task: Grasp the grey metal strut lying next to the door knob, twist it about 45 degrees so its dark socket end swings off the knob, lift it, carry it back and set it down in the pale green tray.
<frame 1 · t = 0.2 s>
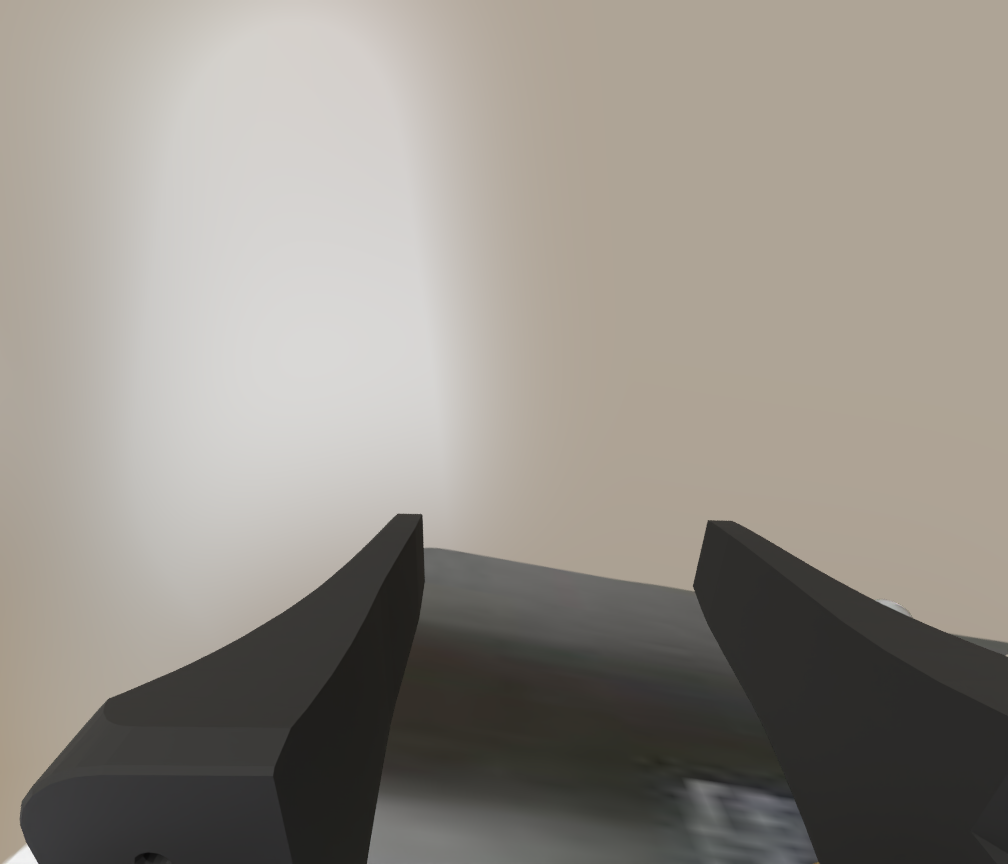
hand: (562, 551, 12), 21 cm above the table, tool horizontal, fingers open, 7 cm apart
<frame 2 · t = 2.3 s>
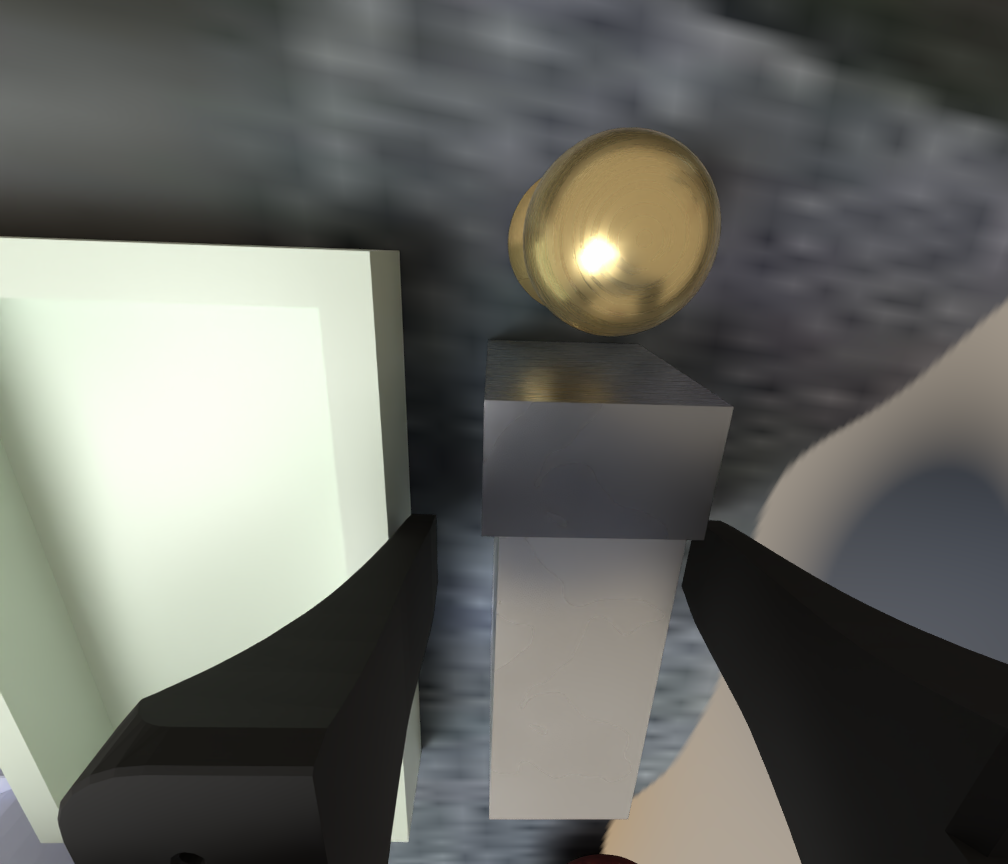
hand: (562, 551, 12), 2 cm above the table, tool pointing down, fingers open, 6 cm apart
apple: (590, 863, 20), on the table
door knob: (572, 243, 11), on the table
strut: (550, 514, 14), on the table
tray: (224, 553, 14), on the table
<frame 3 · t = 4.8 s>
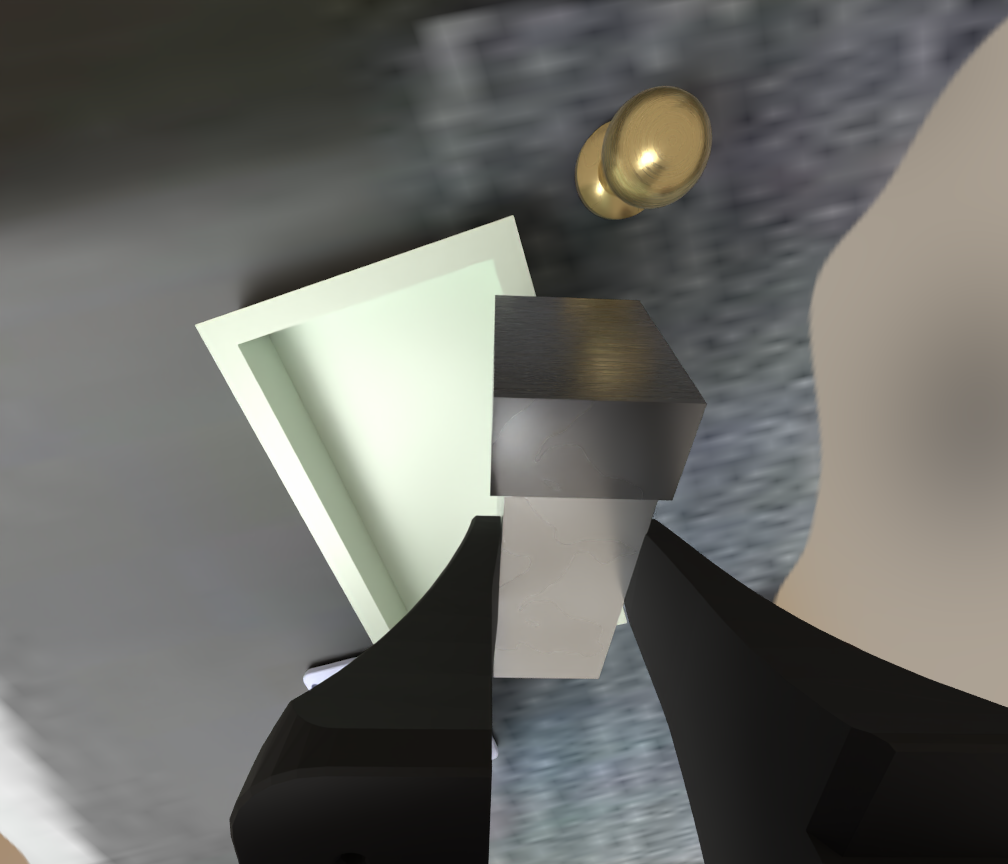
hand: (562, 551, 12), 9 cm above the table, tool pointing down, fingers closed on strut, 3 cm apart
door knob: (617, 172, 16), on the table
strut: (548, 446, 15), point 5 cm above the table, tilted 14°, touching gripper
tray: (448, 462, 21), on the table
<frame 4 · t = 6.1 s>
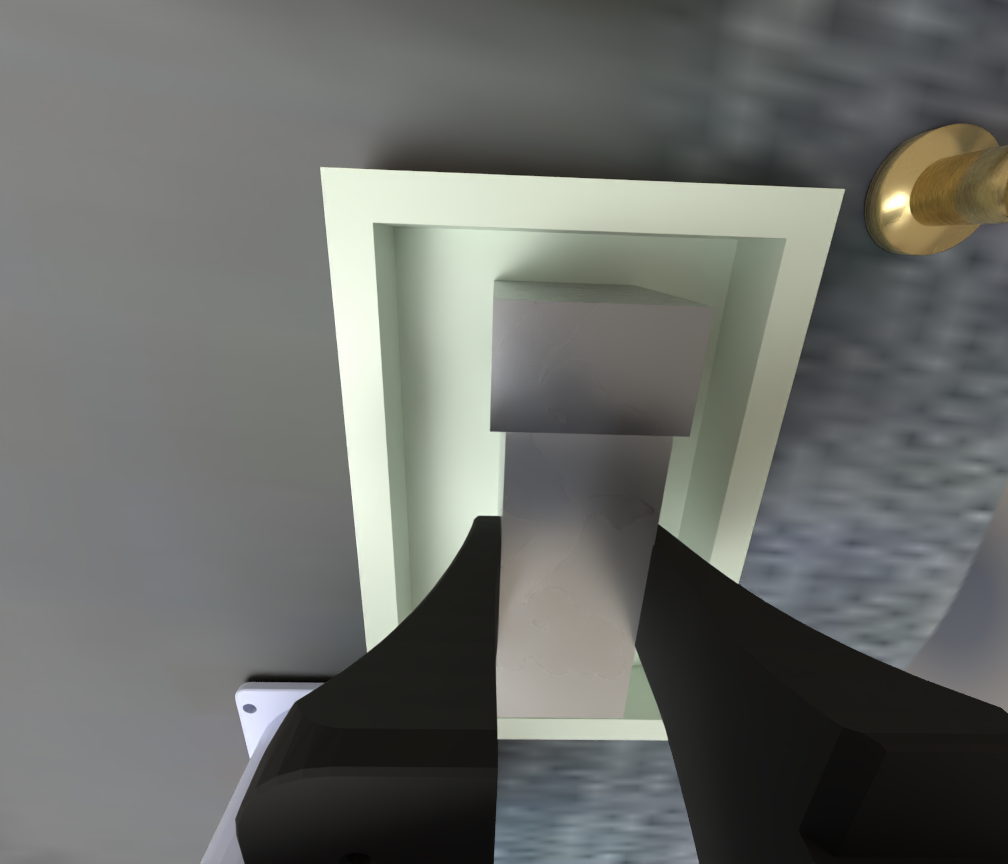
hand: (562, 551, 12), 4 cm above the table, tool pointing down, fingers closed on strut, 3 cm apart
door knob: (921, 194, 12), on the table
strut: (551, 452, 14), point 1 cm above the table, touching gripper, tray
tray: (545, 479, 15), on the table
when the fingers open (4 cm above the table, at t = 6.3 s): strut stays where it is, resting on tray.
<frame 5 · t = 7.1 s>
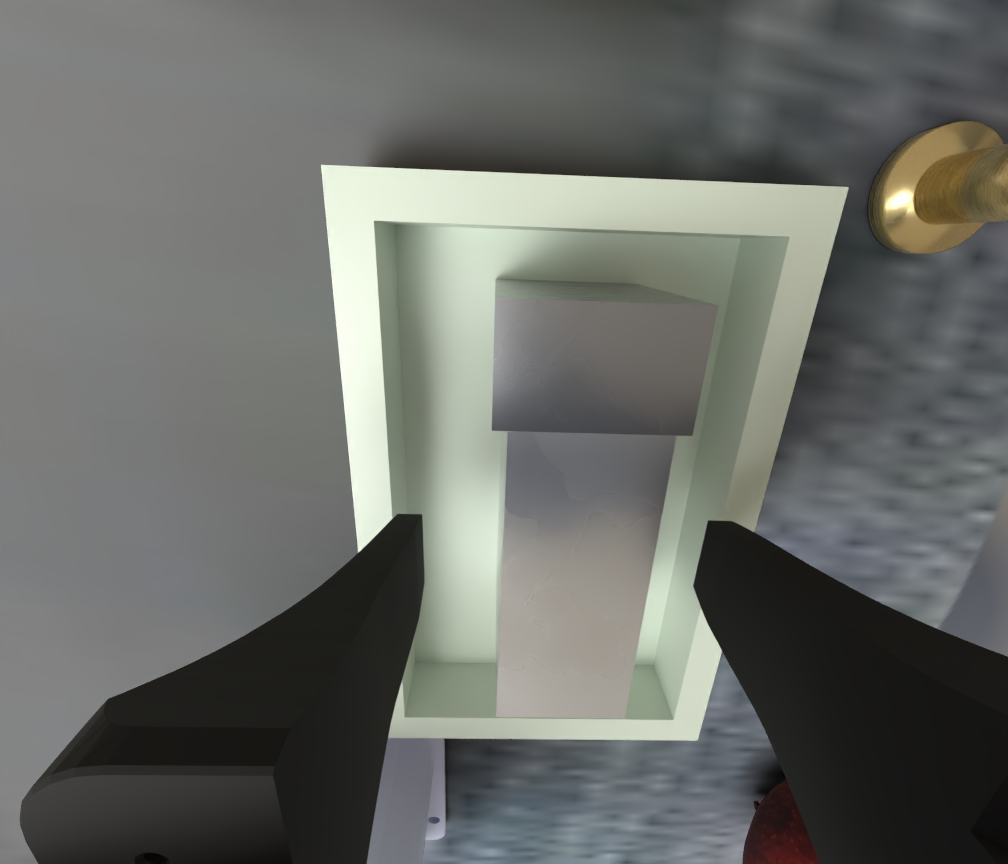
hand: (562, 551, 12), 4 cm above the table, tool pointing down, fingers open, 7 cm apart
apple: (789, 787, 22), on the table
door knob: (925, 192, 12), on the table
strut: (552, 451, 14), point 1 cm above the table, touching tray
tray: (547, 479, 15), on the table
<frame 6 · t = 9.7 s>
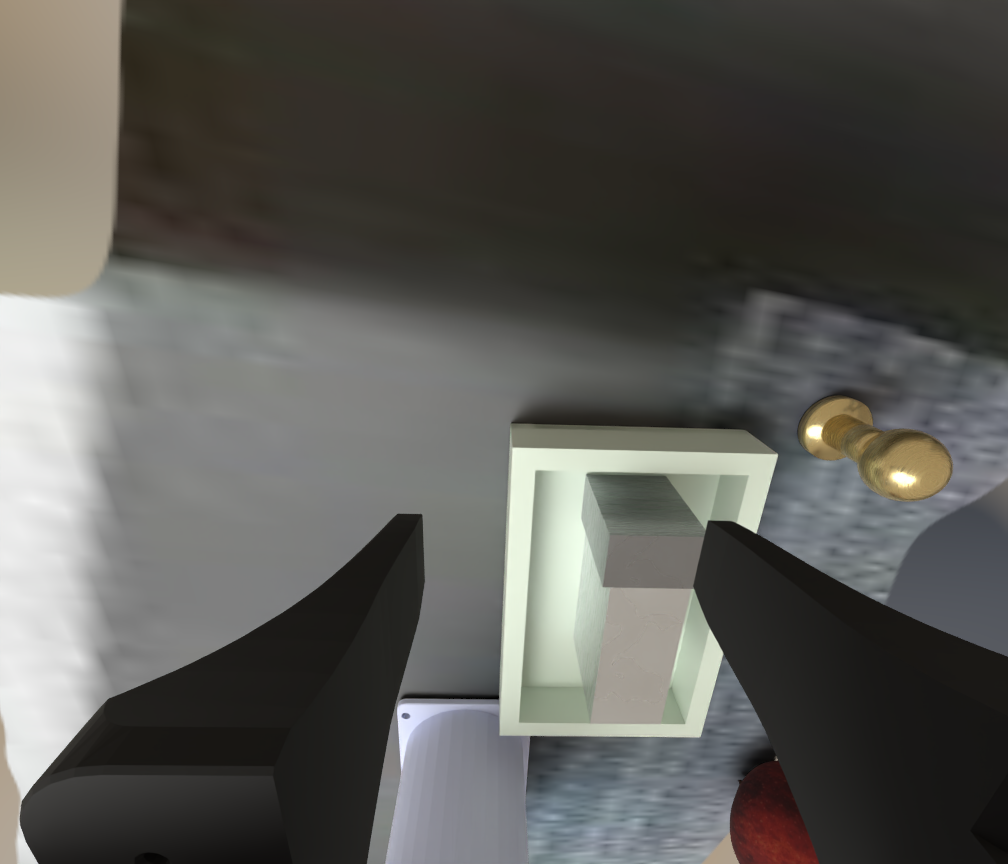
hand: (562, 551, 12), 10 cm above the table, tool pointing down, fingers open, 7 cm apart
apple: (763, 770, 31), on the table
door knob: (830, 425, 22), on the table
strut: (613, 562, 24), point 1 cm above the table, touching tray
tray: (607, 575, 25), on the table
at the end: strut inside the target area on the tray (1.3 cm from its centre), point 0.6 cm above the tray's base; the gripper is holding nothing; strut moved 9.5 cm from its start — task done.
